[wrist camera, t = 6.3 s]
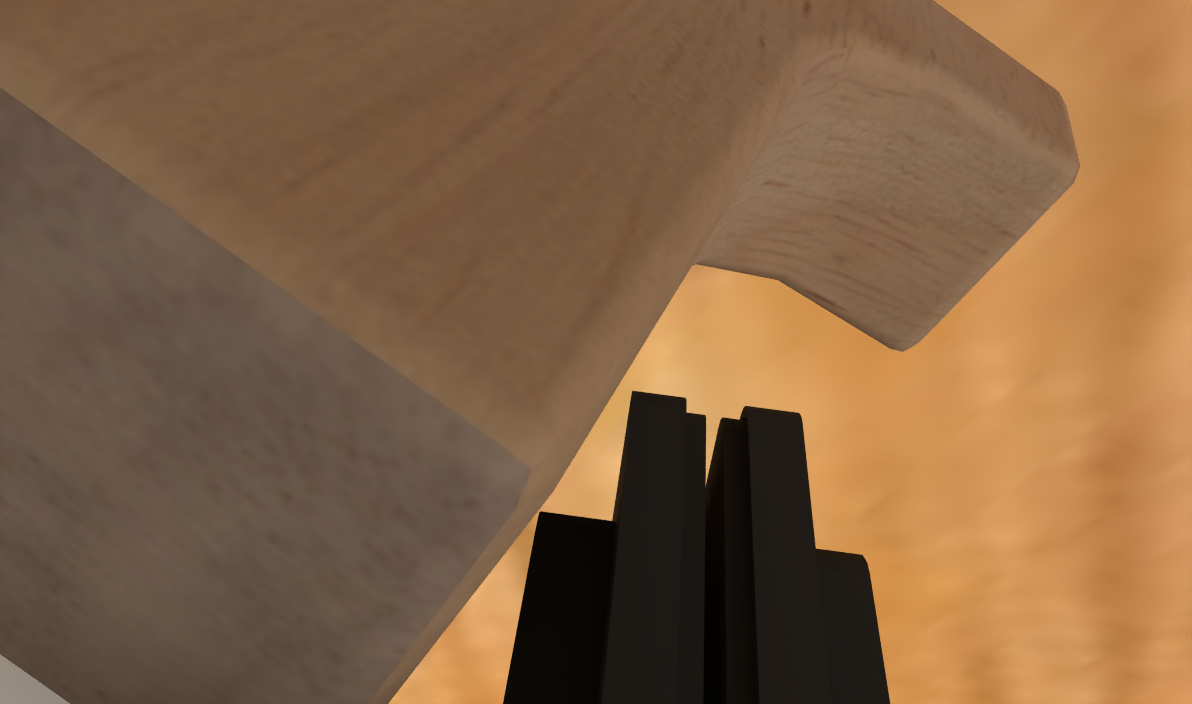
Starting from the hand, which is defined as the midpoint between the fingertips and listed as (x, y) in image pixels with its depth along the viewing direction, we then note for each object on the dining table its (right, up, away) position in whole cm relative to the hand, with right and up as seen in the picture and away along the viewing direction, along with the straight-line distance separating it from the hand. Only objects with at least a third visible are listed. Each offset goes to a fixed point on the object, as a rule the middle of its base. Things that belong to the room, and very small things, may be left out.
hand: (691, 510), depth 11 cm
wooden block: (+3, +8, +11) cm, 14 cm away
